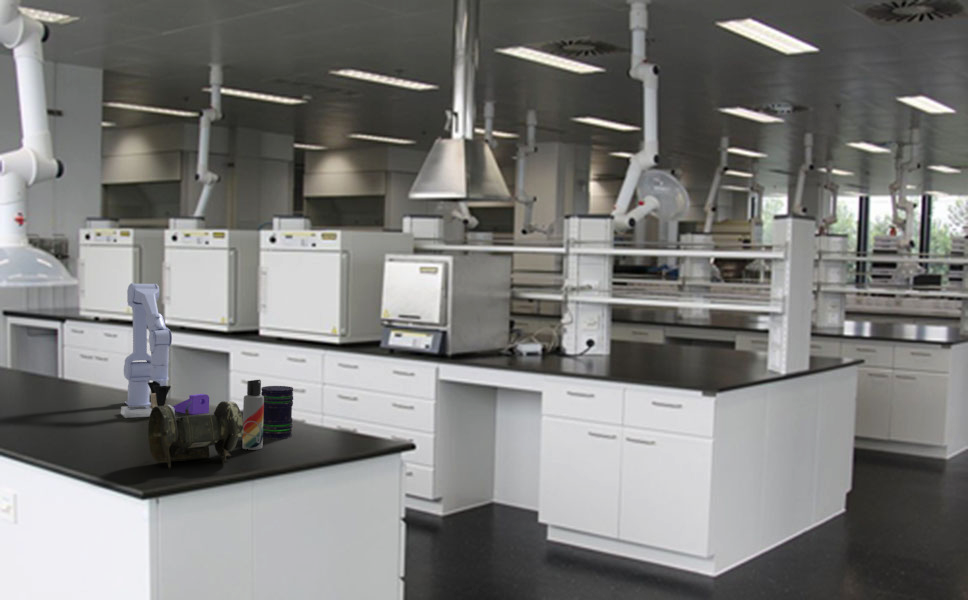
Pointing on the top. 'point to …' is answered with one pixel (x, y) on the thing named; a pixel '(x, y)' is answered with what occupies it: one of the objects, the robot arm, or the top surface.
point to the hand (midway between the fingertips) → (158, 404)
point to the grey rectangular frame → (138, 411)
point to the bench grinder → (193, 433)
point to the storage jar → (277, 411)
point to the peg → (154, 400)
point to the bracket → (194, 404)
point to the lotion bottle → (253, 416)
